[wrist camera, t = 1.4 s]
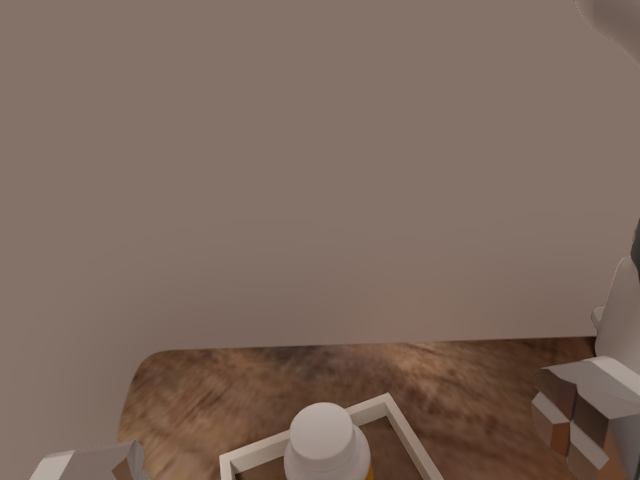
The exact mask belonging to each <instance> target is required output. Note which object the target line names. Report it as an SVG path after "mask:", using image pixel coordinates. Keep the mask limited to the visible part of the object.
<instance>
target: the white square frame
mask: <svg viewBox="0 0 640 480" xmlns="http://www.w3.org/2000/svg"><path fill="white" fill-rule="evenodd" d="M344 410H346V411H347V413H348V414H349V415H350V417H351V420H352V423H354V424H355V425H356V426H357V427H359V426H361V425H364V424H366V423H369V422H371V421H374V420H377V419H379V418H382V417H384V416H386V417H387V418H388V420H389V422H390V423H391V425H392V427H393V429H394V430H395V432H396V434H397V435H398V437H399V439H400V441H401V442H402V444H403V446H404V447H405V449H406V451H407V452H408V454H409V456H410V458H411V459H412V461H413V463H414V464H415V466H416V468H417V470H418V471H419V473H420V475H421V476H422V478H423V480H444V479H443V477H442V476H441V474H440V472H439V471H438V469H437V468H436V466H435V465H434V463H433V461H432V460H431V458H430V457H429V455H428V454H427V452H426V450H425V449H424V447H423V446H422V444H421V443H420V441H419V439H418V438H417V436H416V435H415V433H414V432H413V430H412V428H411V427H410V425H409V424H408V422H407V420H406V419H405V417H404V416H403V414H402V413H401V411H400V409H399V408H398V406H397V405H396V403H395V402H394V400H393V398H392V397H391V395H390V394H389V392H388V393H386V394H383V395H380V396H378V397H375V398H372V399H370V400H367V401H364V402H362V403H359V404H356V405H354V406H351V407H348V408H346V409H344ZM289 440H290V439H289V430H287V431H284V432H282V433H279V434H276V435H274V436H271V437H268V438H266V439H263V440H260V441H258V442H255V443H252V444H250V445H247V446H244V447H242V448H239V449H236V450H234V451H231V452H228V453H226V454H223V455H220V456H219V458H220V470H221V480H236V479H235V474H238V473H240V472H243V471H245V470H248V469H251V468H253V467H256V466H258V465H261V464H263V463H266V462H269V461H271V460H274V459H276V458H279V457H281V456H284V454H285V450H286V447H287V444H288V442H289Z"/></svg>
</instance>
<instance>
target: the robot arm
mask: <svg viewBox="0 0 640 480" xmlns="http://www.w3.org/2000/svg"><path fill="white" fill-rule="evenodd" d="M574 2H575V5H576V7H577V9H578V11H579V13H580V15H581V16H582V18H583V19H584V21H585V22H586V23H587V24H588V25H589V26H590V27H591V28H592V29H593V30H595V31H596V32H597V33H599V34H601V35H602V36H604V37H606V38H607V39H609V40H610V41H612V42H613V43H614V44H616V45H617V46H619V47H620V48H621V49H622V50H623V51H624V52H625V53H626V54H627V55H628V56H629V57H630V58H631V59H632V60H633V62H634V63H635V64H636V65H637V67H638V68H639V69H640V0H574ZM632 239H633V240H632V242H633V245H632V250H631V255H629V256H627V257H624V258H622V259H621V260H620V262H619V264H618V266H617V269H616V272H615V275H614V278H613V280H612V284H611V286H610V289H609V292H608V296H607V298H606V301H605V304H604V305H601V306H597V307H595V308H594V309H593V312H592V315H591V319H592V322H593V324H594V326H595V328H596V329H597V337H596V341H595V353H596V356H597V357H595V358H590V359H585V360H582V361H577V362H571V363H566V364H561V365H555V366H550V367H544V368H539V369H538V371H537V372H536V374H535V379H534V386H535V387H536V388H537V390H538V391H539V393H538V394H537V396H536V397H535V398H534V400H533V401H532V405H531V417H532V421H533V424H534V427H535V430H536V431H537V433H538V435H539V436H540V438H541V440H542V441H543V442H544V443H545V444H546V445H547V446H548V448H549V449H551V450H553V451H554V452H556V453H558V454H560V455H562V456H564V457H565V460H566V467H567V469H568V470H569V471H570V472H571V473H572V474H573V475H574V476H575V477H576V479H577V480H640V219H639V222H638V226H637V227H636V229H635V231H634V235H633V238H632ZM144 457H145V455H144V452H143V448H142V445H141V442H139V441H137V440H133V441H126V442H120V443H114V444H107V445H101V446H93V447H87V448H81V449H79V450H71V451H65V452H59V453H51V454H49V455H48V456H47V457H45V458H44V459H42V461H41V462H40V464H39V465H38V467H37V469H36V470H35V472H34V473H33V475H32V476H31V478H30V479H29V480H151V477H150V474H148V473H147V472H146V471H144V470H143V469H141V467H142V464H143V460H144Z"/></svg>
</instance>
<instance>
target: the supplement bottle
mask: <svg viewBox="0 0 640 480" xmlns="http://www.w3.org/2000/svg"><path fill="white" fill-rule="evenodd" d="M289 439H290V440H289V442H288V444H287V447H286V450H285V454H284V470H285V475H286V479H287V480H374V475H373V468H372V461H371V454H370V449H369V444H368V442H367V439H366V437H365V435H364V434H363V432H362V431H361V430H360V429H359V427H357V426H356V425H355V424H354V423H352V420H351V417H350V415H349V414H348V413H347V411H346V410H344V409H343V408H342V407H340V406H338V405H336V404H333V403H327V402H321V403H315V404H312V405H310V406H308V407H306V408H304V409H303V410H301V411H300V412H299V413H298V414H297V415H296V416H295V418H294V419H293V421H292V423H291V426H290V430H289Z"/></svg>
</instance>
